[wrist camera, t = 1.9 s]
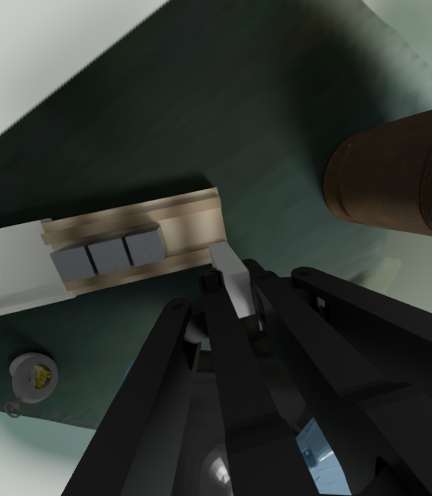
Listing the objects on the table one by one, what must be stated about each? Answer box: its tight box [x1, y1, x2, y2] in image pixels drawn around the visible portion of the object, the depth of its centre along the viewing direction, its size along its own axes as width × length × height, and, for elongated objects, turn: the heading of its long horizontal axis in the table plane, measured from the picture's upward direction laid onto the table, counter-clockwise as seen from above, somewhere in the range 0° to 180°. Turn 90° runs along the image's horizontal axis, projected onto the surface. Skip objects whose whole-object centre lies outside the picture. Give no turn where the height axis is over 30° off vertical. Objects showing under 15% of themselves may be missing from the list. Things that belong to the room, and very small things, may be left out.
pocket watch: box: [4, 352, 58, 418], centre depth 31 cm, size 8×8×10 cm
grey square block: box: [88, 232, 134, 275], centre depth 28 cm, size 4×4×4 cm
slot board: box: [40, 187, 228, 296], centre depth 31 cm, size 24×11×4 cm, turn 101°
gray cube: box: [125, 225, 168, 267], centre depth 28 cm, size 4×4×4 cm
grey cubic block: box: [50, 239, 99, 283], centre depth 27 cm, size 4×4×4 cm
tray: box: [0, 218, 77, 315], centre depth 30 cm, size 16×12×2 cm
